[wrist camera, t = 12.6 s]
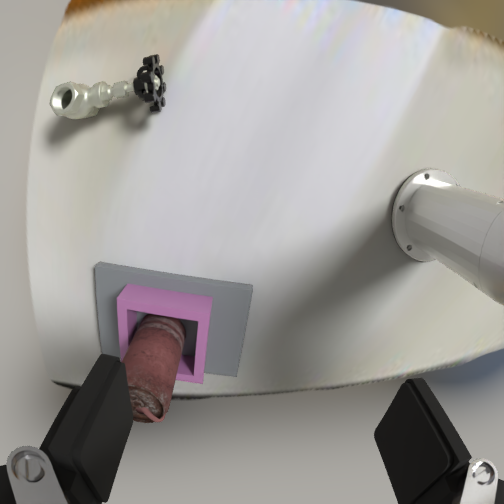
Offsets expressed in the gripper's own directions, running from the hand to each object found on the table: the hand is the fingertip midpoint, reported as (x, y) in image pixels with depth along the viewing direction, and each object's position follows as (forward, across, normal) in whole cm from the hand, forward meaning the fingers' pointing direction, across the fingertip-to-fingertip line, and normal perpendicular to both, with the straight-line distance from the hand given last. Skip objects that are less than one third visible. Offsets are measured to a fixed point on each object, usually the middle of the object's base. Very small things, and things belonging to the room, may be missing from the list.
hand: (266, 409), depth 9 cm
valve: (+28, +18, -13) cm, 35 cm away
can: (+26, +9, +16) cm, 32 cm away
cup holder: (+28, +9, +15) cm, 33 cm away
